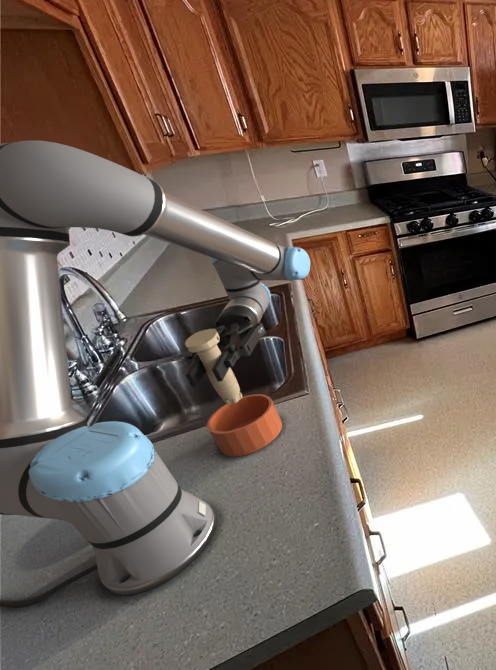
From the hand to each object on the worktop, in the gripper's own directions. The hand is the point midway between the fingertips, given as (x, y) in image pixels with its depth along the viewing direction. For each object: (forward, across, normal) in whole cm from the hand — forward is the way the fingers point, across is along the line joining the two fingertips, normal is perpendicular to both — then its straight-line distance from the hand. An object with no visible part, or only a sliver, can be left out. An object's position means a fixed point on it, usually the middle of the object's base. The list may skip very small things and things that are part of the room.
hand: (204, 377), depth 75 cm
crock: (-8, +1, -21) cm, 22 cm away
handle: (-5, 0, -10) cm, 11 cm away
